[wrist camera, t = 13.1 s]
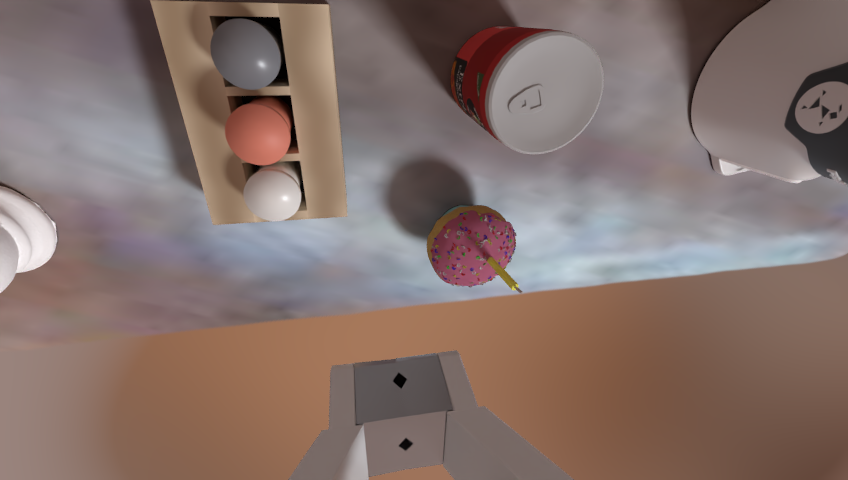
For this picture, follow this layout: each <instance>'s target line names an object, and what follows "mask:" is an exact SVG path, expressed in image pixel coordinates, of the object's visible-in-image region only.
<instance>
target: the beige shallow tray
mask: <svg viewBox="0 0 848 480" xmlns="http://www.w3.org/2000/svg"><path fill="white" fill-rule="evenodd" d="M150 2H151V5H152V9H153V13H154V16H155V20H156V23H157V27H158V30H159V34H160V37H161V41H162V45H163V48H164V52H165V55H166V59H167V62H168V66H169V69H170V73H171V77H172V80H173V84H174V87H175V91H176V94H177V98H178V102H179V105H180V109H181V112H182V116H183V119H184V123H185V126H186V130H187V134H188V137H189V141H190V144H191V148H192V151H193V155H194V158H195V162H196V166H197V169H198V173H199V176H200V180H201V183H202V187H203V190H204V194H205V198H206V201H207V205H208V208H209V212H210V215H211V219H212V223H213V225H219V224H235V223H251V222H267V221H268V220H265V219H262V218H260V217H258V216H256V215H255V214H254V213H252V212H251V211H250V209H249V208H248V207H247V205H246V203H245V200H244V195H243V192H244V187H245V185H246V183H247V181H248V179H249V178H250V177H251V176H252V175H253V174H254V173H256V172H257V171H256V166H255V164H251V163H248V162H246V161H244V160H242V159H241V158H239V157H238V156H237V155H236V154H235V153H234V152H233V151H232V149H231V148H230V146H229V145H228V142H227V140H226V136H225V125H226V122H227V119H228V117H229V116H230V115H231V114H232V112H233V111H235V110H236V109H237V108H238V107H240V106H242V105H243V102H242V98H241V96H261V95H291V101H292V108H293V115H294V122H295V129H296V136H297V140H291V141H290V145H289V148H288V150H287V152H286V154H285V155H284V156H283V157H282V158H281V159H280V160H279V161H277V162H282V161H300V163H301V170H302V177H303V184H304V191H305V193H301V202H300V206H299V208H298V210H297V211H296V213H295V214H294V215H293V216H291V217H290V218H288V219H285V220H299V219H314V218H330V217H346V216H347V196H346V185H345V173H344V162H343V150H342V139H341V127H340V116H339V104H338V93H337V81H336V70H335V58H334V47H333V35H332V24H331V12H330V5H328V4H288V3H245V2H202V1H159V0H150ZM225 16H245V17H280V24H281V31H282V38H283V45H284V52H285V59H286V66H287V73H288V79H274V80H273V81H272V82H271V83H270V84H269V85H267V86H265V87H263V88H261V89H255V90H248V89H243V88H240V87H237V86H235V85H233V84H232V83H230V82H229V81H227V80H226V79H225V78H224V77H223V76H222V75H221V74H220V73H219V71H218V70H217V68H216V66H215V65H214V62H213V60H212V56H211V50H210V45H211V39H212V36H213V33H214V32H215V30H216V29H217V28H218V26H220V25H221V24H222V23H224V22H225V21H226V19H225ZM282 221H283V220H282Z"/></svg>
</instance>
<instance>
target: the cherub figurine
mask: <svg viewBox="0 0 848 480" xmlns="http://www.w3.org/2000/svg"><path fill="white" fill-rule="evenodd" d="M55 225H56V224H55V223H54V222H53V221H52V220H51V219H50V217H48V215H47V214H46V213H44V211H43V210H41V207H40V206H39V205H38V204H36V203H35V202H33V201H31V200H30V199H28V198H26V197H25V196H23V195H21V194H19V193H18V192H16V191H14V190H12V189H8V187H3V186H0V293H1V292H2V291H3V290H4V289H5V288H6V287H7V286H8V285H9V284H10V283H11V281H12V280H13V278H14V276H15V273H19V272H26V271H30V270H33V269H35V268H38V267H40V266H41V265H43V264H44V263H46V262H47V261H48V260H49V259H50V258H51V257H52V255H53V253H54V251H55V248H56V243H57V235H56V226H55Z"/></svg>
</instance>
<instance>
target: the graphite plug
mask: <svg viewBox="0 0 848 480" xmlns="http://www.w3.org/2000/svg"><path fill="white" fill-rule="evenodd" d="M210 50H211V56H212V60H213V62H214V65H215V66H216V68H217V70H218V71H219V73H220V74H221V75H222V76H223V77H224V78H225V79H226V80H227V81H229V82H230V83H232V84H233V85H235V86H237V87H240V88H243V89H248V90H255V89H261V88H263V87H265V86H267V85H269V84H270V83H271V82H272V81H273V80H274V79H275V78H276V76H277V75H278V73H279V70H280V67H281V66H282V64H283V62H284V59H285V52H284V45H283V40H282V38H281V37H280V35H279V34H278V33H277V32H276V31H275V30H274V29H273V28H272V27H270V26H269V25H267V24H264V23H260V22H255V21H252V20H248V19H231V20H228V21H225V22H224V23H222V24H221V25H220V26H218V28H217V29H216V30H215V32H214V33H213V36H212V39H211V45H210Z"/></svg>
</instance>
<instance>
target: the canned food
mask: <svg viewBox="0 0 848 480" xmlns="http://www.w3.org/2000/svg"><path fill="white" fill-rule="evenodd" d="M603 85H604V75H603V68H602V64H601V61H600V59H599V56H598V54H597V53H596V51H595V50H594V48H593V47H592V46H591V45H590V44H589V43H588V42H587V41H585V40H584V39H582V38H580V37H578V36H576V35H574V34H571V33H568V32H564V31H559V30H551V29H537V28H523V27H509V26H495V27H491V28H487V29H485V30H482V31H480V32H478V33H477V34H475V35H474V36H473V37H471V38H470V39H469V40H468V41H467V42H466V43H465V44H464V45H463V46H462V48H461V49H460V51H459V53H458V54H457V56H456V59H455V61H454V63H453V67H452V72H451V88H452V93H453V96H454V99H455V101H456V102H457V104H458V106H459V107H460V108H461V109H462V110H463V111H464V112H465V113H466V114H467V115H468V116H469V117H471V118H472V119H473V120H474V121H475V122H477V123H478V124H479V125H480V126H481V127H483V128H484V129H485V130H486V131H487V132H488V133H490V134H491V135H492V136H493V137H494V138H496V139H497V140H499V141H500V142H501V143H503V144H504V145H506V146H507V147H509V148H511V149H513V150H515V151H518V152H521V153H525V154H543V153H547V152H551V151H554V150H556V149H559V148H561V147H563V146H565V145H566V144H568V143H569V142H571V141H572V140H574V139H575V138H576V137H577V136H578V135H579V134H580V133H581V132H582V131H583V130H584V129H585V128H586V126H587V125H588V124H589V123H590V121H591V120H592V118H593V116H594V115H595V113H596V111H597V108H598V106H599V103H600V101H601V97H602V92H603Z"/></svg>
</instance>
